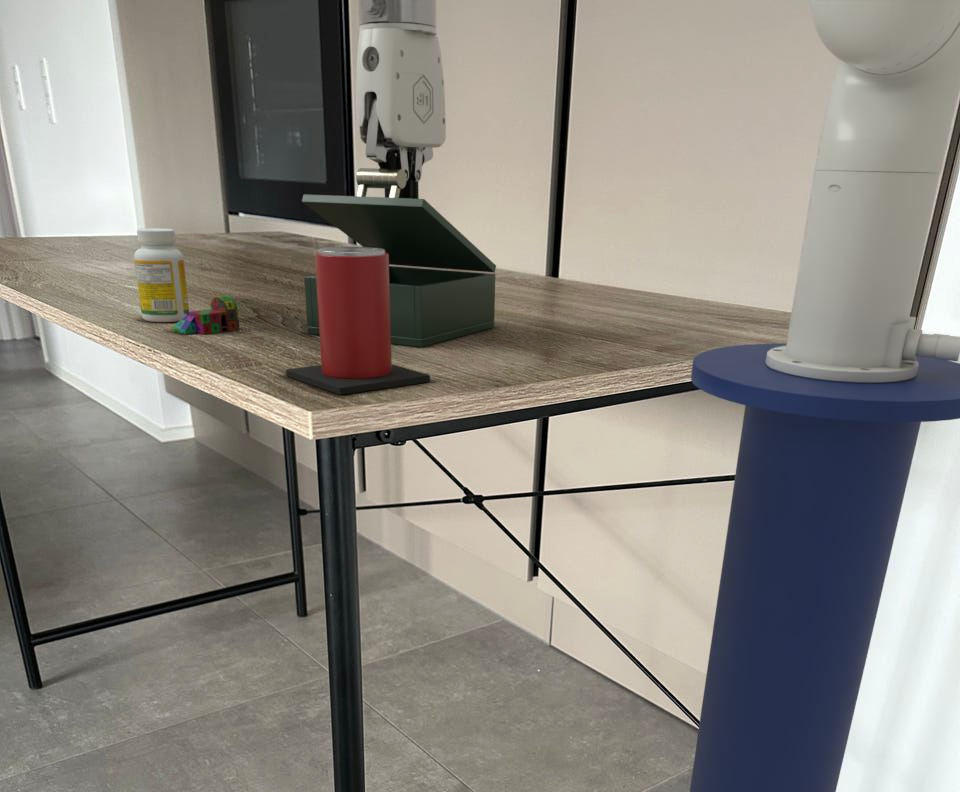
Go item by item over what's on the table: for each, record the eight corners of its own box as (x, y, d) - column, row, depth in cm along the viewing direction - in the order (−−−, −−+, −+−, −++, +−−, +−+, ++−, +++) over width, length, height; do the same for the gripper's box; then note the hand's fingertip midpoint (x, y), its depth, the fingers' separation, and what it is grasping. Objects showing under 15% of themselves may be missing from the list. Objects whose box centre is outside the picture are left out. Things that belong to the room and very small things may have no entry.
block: (217, 325, 106) (214, 293, 104) (239, 329, 103) (236, 297, 102) (171, 331, 102) (166, 298, 100) (193, 335, 99) (189, 302, 98)
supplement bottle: (162, 324, 106) (150, 231, 101) (132, 319, 108) (119, 229, 104) (200, 318, 110) (190, 229, 105) (170, 314, 112) (159, 227, 108)
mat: (430, 382, 81) (430, 374, 80) (340, 395, 75) (339, 387, 75) (372, 365, 87) (372, 358, 86) (285, 376, 82) (285, 369, 81)
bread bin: (421, 347, 95) (420, 286, 93) (307, 333, 102) (303, 276, 99) (494, 327, 108) (495, 273, 105) (388, 316, 114) (387, 265, 111)
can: (405, 370, 82) (402, 249, 77) (365, 382, 77) (360, 254, 73) (349, 362, 84) (343, 245, 80) (307, 373, 80) (299, 249, 75)
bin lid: (422, 207, 90) (432, 158, 89) (301, 201, 96) (310, 156, 96) (494, 272, 105) (504, 231, 104) (386, 264, 111) (394, 225, 111)
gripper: (385, 3, 84) (391, 227, 92) (469, 24, 95) (468, 221, 104) (319, 8, 87) (330, 224, 95) (408, 27, 99) (411, 218, 107)
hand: (402, 222), depth 100 cm, fingers closed
